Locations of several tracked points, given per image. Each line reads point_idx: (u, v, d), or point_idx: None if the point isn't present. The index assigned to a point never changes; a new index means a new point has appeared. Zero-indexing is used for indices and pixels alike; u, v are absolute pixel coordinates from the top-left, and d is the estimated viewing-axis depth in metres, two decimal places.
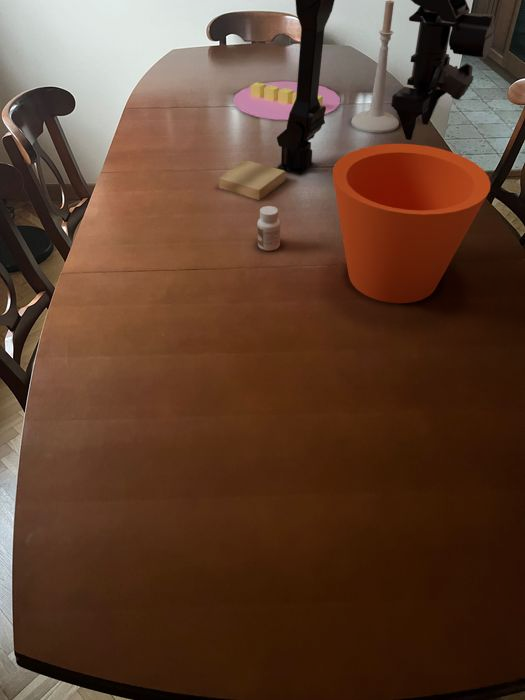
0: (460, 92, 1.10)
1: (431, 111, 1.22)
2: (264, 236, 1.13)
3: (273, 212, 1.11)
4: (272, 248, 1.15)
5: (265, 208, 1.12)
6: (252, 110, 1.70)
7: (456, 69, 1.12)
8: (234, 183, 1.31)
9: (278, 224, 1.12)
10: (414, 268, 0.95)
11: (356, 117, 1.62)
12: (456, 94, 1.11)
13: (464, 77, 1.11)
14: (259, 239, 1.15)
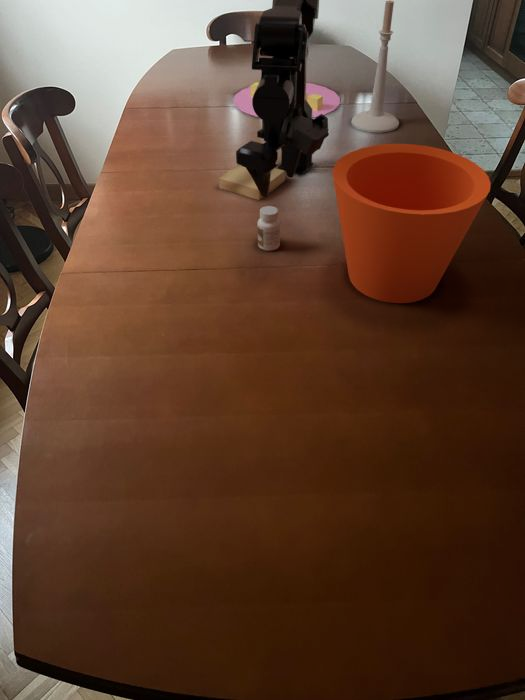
0: (311, 148, 0.98)
1: (294, 163, 1.10)
2: (264, 236, 1.13)
3: (273, 212, 1.11)
4: (272, 248, 1.15)
5: (265, 208, 1.12)
6: (252, 110, 1.70)
7: (309, 121, 1.00)
8: (234, 183, 1.31)
9: (278, 224, 1.12)
10: (414, 268, 0.95)
11: (356, 117, 1.62)
12: (307, 150, 0.99)
13: (316, 131, 0.99)
14: (259, 239, 1.15)
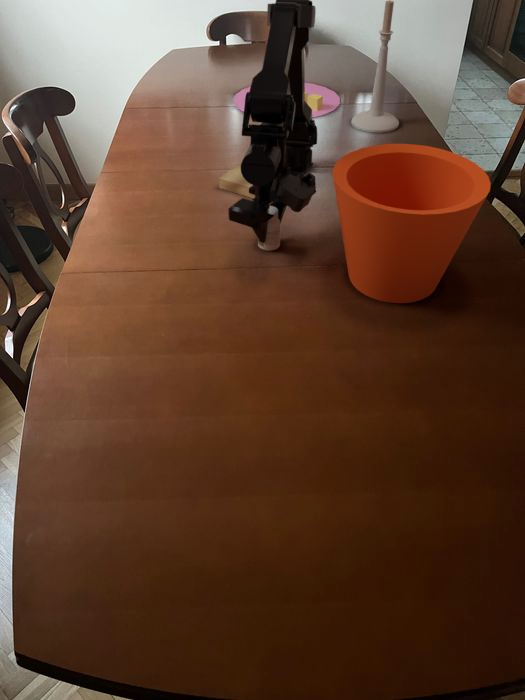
0: (299, 206, 1.04)
1: (279, 219, 1.15)
2: None
3: (273, 212, 1.11)
4: (272, 248, 1.15)
5: None
6: None
7: (297, 179, 1.06)
8: (234, 183, 1.31)
9: (278, 224, 1.12)
10: (414, 268, 0.95)
11: (356, 117, 1.62)
12: (295, 207, 1.05)
13: (304, 189, 1.05)
14: None
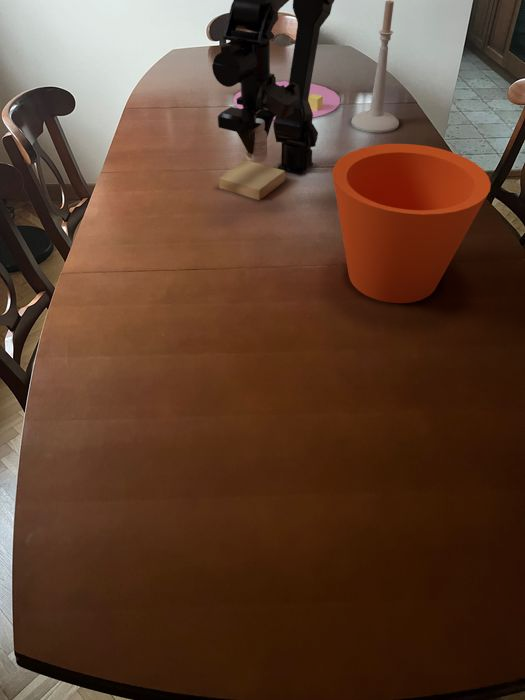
0: (283, 112, 1.12)
1: None
2: None
3: None
4: (259, 159, 1.22)
5: None
6: None
7: (282, 88, 1.13)
8: (234, 183, 1.31)
9: (265, 135, 1.20)
10: (414, 268, 0.95)
11: (356, 117, 1.62)
12: (280, 114, 1.12)
13: (288, 97, 1.12)
14: None
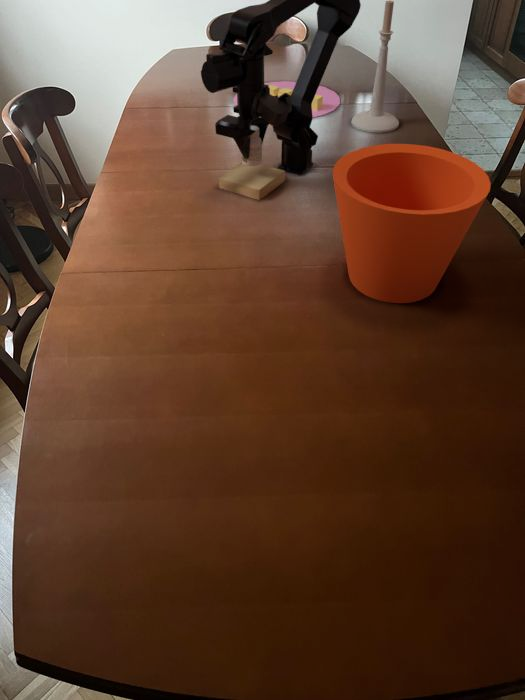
0: (276, 120, 1.20)
1: None
2: None
3: (255, 130, 1.27)
4: (254, 163, 1.31)
5: None
6: None
7: (275, 98, 1.22)
8: (234, 183, 1.31)
9: (259, 141, 1.28)
10: (414, 268, 0.95)
11: (356, 117, 1.62)
12: (273, 122, 1.21)
13: (280, 106, 1.21)
14: None
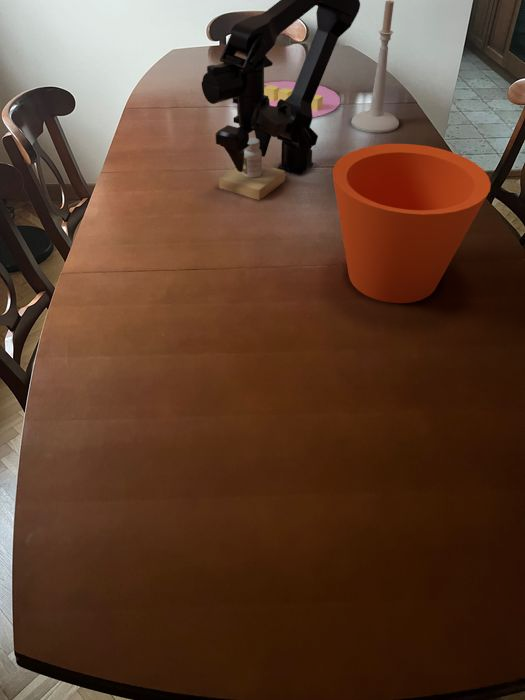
0: (276, 131, 1.22)
1: (265, 145, 1.33)
2: (247, 164, 1.31)
3: (255, 142, 1.28)
4: (254, 175, 1.32)
5: None
6: None
7: (275, 109, 1.23)
8: (234, 183, 1.31)
9: (260, 153, 1.30)
10: (414, 268, 0.95)
11: (356, 117, 1.62)
12: (273, 133, 1.22)
13: (280, 117, 1.22)
14: (243, 167, 1.32)
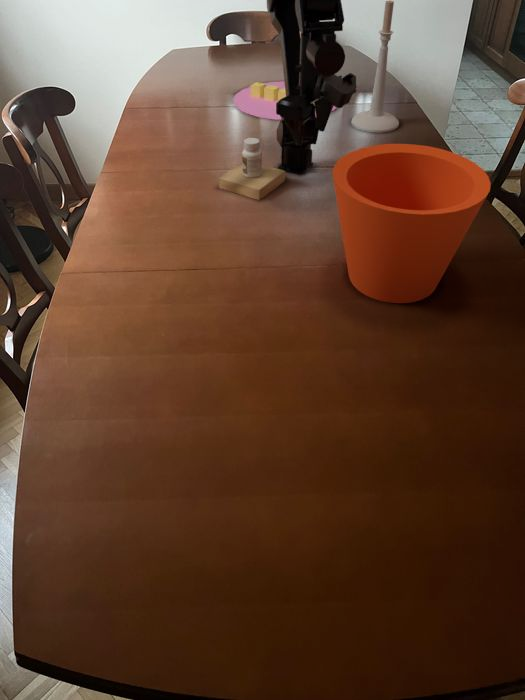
0: (340, 101, 1.14)
1: (325, 118, 1.26)
2: (247, 164, 1.31)
3: (255, 142, 1.28)
4: (254, 175, 1.32)
5: (248, 139, 1.30)
6: (252, 110, 1.70)
7: (340, 78, 1.16)
8: (234, 183, 1.31)
9: (260, 153, 1.30)
10: (414, 268, 0.95)
11: (356, 117, 1.62)
12: (337, 103, 1.15)
13: (345, 86, 1.15)
14: (243, 167, 1.32)
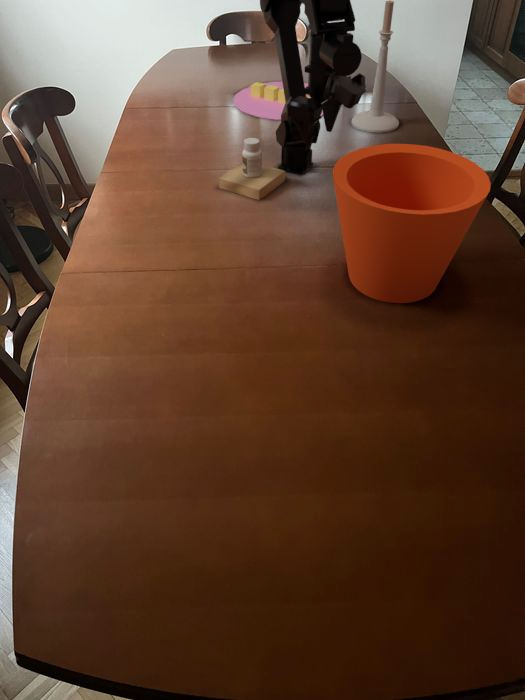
0: (351, 101, 1.14)
1: (333, 119, 1.26)
2: (247, 164, 1.31)
3: (255, 142, 1.28)
4: (255, 175, 1.32)
5: (248, 139, 1.30)
6: (252, 110, 1.70)
7: (349, 79, 1.16)
8: (234, 183, 1.31)
9: (260, 153, 1.30)
10: (414, 268, 0.95)
11: (356, 117, 1.62)
12: (348, 103, 1.15)
13: (355, 87, 1.15)
14: (243, 167, 1.32)
